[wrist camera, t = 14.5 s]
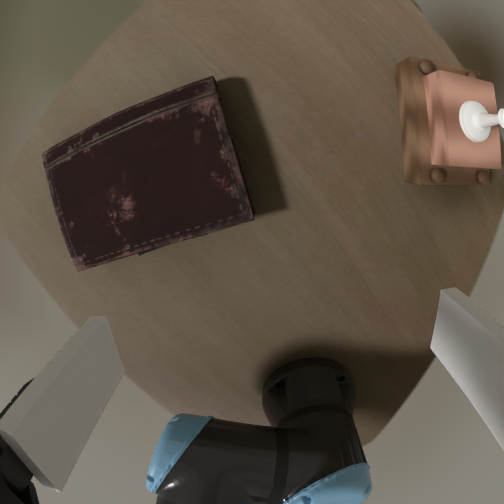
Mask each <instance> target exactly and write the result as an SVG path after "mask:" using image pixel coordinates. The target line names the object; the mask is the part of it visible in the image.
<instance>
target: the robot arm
mask: <svg viewBox="0 0 504 504" xmlns="http://www.w3.org/2000/svg"><path fill="white" fill-rule="evenodd" d="M430 348H431V350H432V351H433V352H434V354H435V355H436V356H437V357H438V359H439V360H440V361H441V363H442V364H443V365H444V366H445V368H446V369H447V370H448V372H449V373H450V374H451V376H452V377H453V378H454V379H455V381H456V382H457V384H458V385H459V386H460V388H461V389H462V391H463V392H464V393H465V395H466V396H467V397H468V399H469V400H470V402H471V403H472V404H473V406H474V407H475V409H476V410H477V411H478V413H479V414H480V416H481V417H482V419H483V420H484V422H485V423H486V425H487V426H488V428H489V429H490V431H491V432H492V434H493V435H494V436H495V438H496V440H497V441H498V443H499V444H500V446H501V447H502V449H503V451H504V326H503V325H502V324H501V323H500V322H498V321H497V320H496V319H495V318H494V317H492V316H491V315H490V314H489V313H487V312H486V311H485V310H484V309H482V308H481V307H480V306H479V305H477V304H476V303H475V302H474V301H472V300H471V299H470V298H469V297H467V296H466V295H465V294H463V293H462V292H461V291H460V290H458V289H457V288H456V287H455V288H449V289H443V290H441V293H440V299H439V306H438V311H437V317H436V322H435V327H434V332H433V337H432V342H431V346H430ZM124 373H125V370H124V367H123V365H122V362H121V359H120V356H119V353H118V350H117V347H116V345H115V342H114V338H113V335H112V332H111V329H110V326H109V323H108V319H107V316H91V317H90V318H89V319H88V320H87V321H86V322H85V323H84V324H83V325H82V326H81V327H80V328H79V330H78V331H77V332H76V333H75V334H74V335H73V336H72V337H71V338H70V339H69V340H68V341H67V342H66V343H65V345H64V346H63V347H62V348H61V349H60V350H59V351H58V352H57V353H56V354H55V356H54V357H53V358H52V359H51V360H50V361H49V362H48V363H47V365H46V366H45V367H44V368H43V369H42V370H41V371H40V373H39V374H38V375H37V376H36V377H35V378H33V379H32V380H30V381H29V382H27V383H26V384H25V385H24V386H23V387H22V388H21V389H20V391H19V392H18V393H17V395H15V397H14V398H13V399H12V400H11V403H9V404H8V405H7V406H6V408H5V409H4V410H3V411H2V412H1V413H0V504H39V501H38V497H37V493H36V489H35V486H34V484H33V483H32V482H31V481H30V480H31V479H32V477H33V475H34V476H35V477H36V478H37V479H38V480H39V482H40V483H41V484H42V485H43V486H46V487H48V488H50V489H53V490H55V491H58V492H60V493H61V492H62V490H63V488H64V485H65V484H66V482H67V480H68V478H69V476H70V474H71V472H72V470H73V468H74V466H75V464H76V462H77V460H78V458H79V456H80V454H81V452H82V450H83V448H84V446H85V444H86V442H87V440H88V439H89V437H90V435H91V433H92V431H93V429H94V427H95V425H96V423H97V422H98V420H99V418H100V416H101V414H102V413H103V411H104V409H105V406H106V405H107V403H108V402H109V400H110V398H111V396H112V394H113V393H114V391H115V389H116V387H117V386H118V384H119V382H120V380H121V378H122V377H123V375H124ZM354 398H355V388H354V384H353V381H352V379H351V376H350V374H349V372H348V371H347V370H346V369H345V368H344V367H343V366H342V365H340V364H339V363H337V362H334V361H331V360H328V359H322V358H308V359H302V360H298V361H294V362H292V363H289V364H287V365H285V366H283V367H281V368H280V369H278V370H277V371H276V372H274V373H273V374H272V375H271V376H270V377H269V379H268V380H267V381H266V383H265V385H264V388H263V392H262V405H263V410H264V412H265V415H266V416H267V418H268V420H269V422H270V424H271V426H272V427H270V426H261V425H252V424H245V423H239V422H233V421H227V420H221V419H216V418H214V417H213V416H208V417H206V416H199V415H193V414H187V413H182V414H178V415H176V416H174V417H173V418H172V419H171V420H170V421H169V423H168V424H167V426H166V427H165V429H164V431H163V433H162V435H161V437H160V439H159V441H158V444H157V446H156V449H155V451H154V454H153V457H152V460H151V463H150V466H149V470H148V476H147V480H146V487H147V489H148V490H150V491H151V492H152V493H154V494H157V493H158V497H157V502H156V504H362V503H363V502H364V501H365V500H366V499H367V498H368V497H369V495H370V493H371V490H372V483H371V477H370V471H369V470H370V467H369V465H368V463H367V461H366V458H365V455H364V451H363V448H362V445H361V442H360V438H359V435H358V432H357V429H356V426H355V423H354V420H353V407H354Z"/></svg>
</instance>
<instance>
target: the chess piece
mask: <svg viewBox="0 0 504 504" xmlns="http://www.w3.org/2000/svg"><path fill="white" fill-rule="evenodd" d="M459 121H460V125H461V128H462V130H463V132H464V134H465V135H466V136H467V137H468V138H469V139H470V140H471V141H473V142H482V141H485V140H486V139H487V138H488V137H489V135H490V131H491V126H494V125H498V124H500V125H501V126H502V127H503V128H504V109H500V110H499V112H498V114H488V112H487V111H486V109H485V108H484V107H483V105H481V104H480V103H478V102H476V101H466V102H465V103H463V104H462V106H461V108H460V112H459Z"/></svg>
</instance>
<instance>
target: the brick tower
mask: <svg viewBox="0 0 504 504" xmlns="http://www.w3.org/2000/svg"><path fill="white" fill-rule="evenodd" d="M393 68H394V74H395V80H396V87H397V94H398V102H399V110H400V120H401V130H402V143H403V159H404V181H405V182H410V183H415V184H420V185H471V186H490V169H500V170H501V149H500V134H499V124H498V125H494V126H491V131H490V135H489V137H488V138H487V139H486V140H485V141H482V142H473V141H471V140H470V139H469V138H468V137H467V136H466V135H465V134H464V132H463V130H462V128H461V125H460V121H459V112H460V108H461V106H462V104H463V103H465V102H466V101H476V102H478V103H480V104H481V105H483V107H484V108H485V109H486V111H487V112H488V114H497V106H496V99H495V93H494V86H493V83H490V82H487V81H484V80H481V77H480V73H479V72H476V71H474V70H468V69H465V68H461V67H457V66H453V65H449V64H444V63H440V62H435V61H430V60H427V59H419V58H413V57H408V58H407V59H405V60H403V61H402V62H400V63H399V64H397V65H395V66H394V67H393Z"/></svg>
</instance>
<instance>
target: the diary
mask: <svg viewBox="0 0 504 504" xmlns="http://www.w3.org/2000/svg"><path fill="white" fill-rule="evenodd" d="M216 87H217V83H216V81H215V78H214V77H213V76H211V77H208V78H205V79H202V80H199V81H196V82H193V83H190V84H188V85H185V86H182V87H180V88H177V89H174V90H172V91H169V92H167V93H164V94H162V95H159V96H157V97H154V98H151V99H149V100H146V101H144V102H141V103H139V104H136V105H134V106H131V107H129V108H127V109H124V110H122V111H120V112H117V113H115V114H113V115H111V116H109V117H107V118H105V119H103V120H101V121H100V122H98V123H96V124H94V125H92V126H90V127H88V128H87V129H85V130H83V131H81V132H79V133H77V134H75V135H73V136H71V137H69V138H68V139H66V140H64V141H62V142H60V143H58V144H56V145H55V146H53V147H51V148H50V149H48V150H47V151H45V152H44V153H43V154H42V159H43V164H44V168H45V172H46V176H47V180H48V184H49V188H50V193H51V197H52V201H53V205H54V209H55V213H56V216H57V219H58V222H59V225H60V228H61V232H62V235H63V238H64V240H65V243H66V246H67V248H68V251H69V253H70V256H71V258H72V260H73V263H74V265H75V267H76V269H77V271H78V272H79V271H82V270H85V269H88V268H92V267H95V266H98V265H101V264H104V263H108V262H111V261H114V260H117V259H121V258H124V257H127V256H130V255H134V254H137V253H138V255H139V256H140V255H142V254H144V253H146V252H149V251H151V250H153V249H155V248H157V247H160V246H164V245H167V244H171V243H175V242H178V241H182V240H187V239H191V238H195V237H198V236H202V235H206V234H208V233H210V232H214V231H217V230H221V229H224V228H228V227H231V226H235V225H238V224H242V223H246V222H249V221H253V220H254V216H253V215H254V214H255V212H254V208H253V205H252V202H251V198H250V195H249V191H248V188H247V185H246V181H245V178H244V175H243V171H242V168H241V165H240V161H239V158H238V155H237V152H236V148H235V145H234V142H233V138H232V139H231V137H230V134H229V130H228V127H227V123H226V120H225V117H224V113H223V110H222V106H221V103H220V100H221V99H219V96H218V92H217V89H216Z"/></svg>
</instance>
